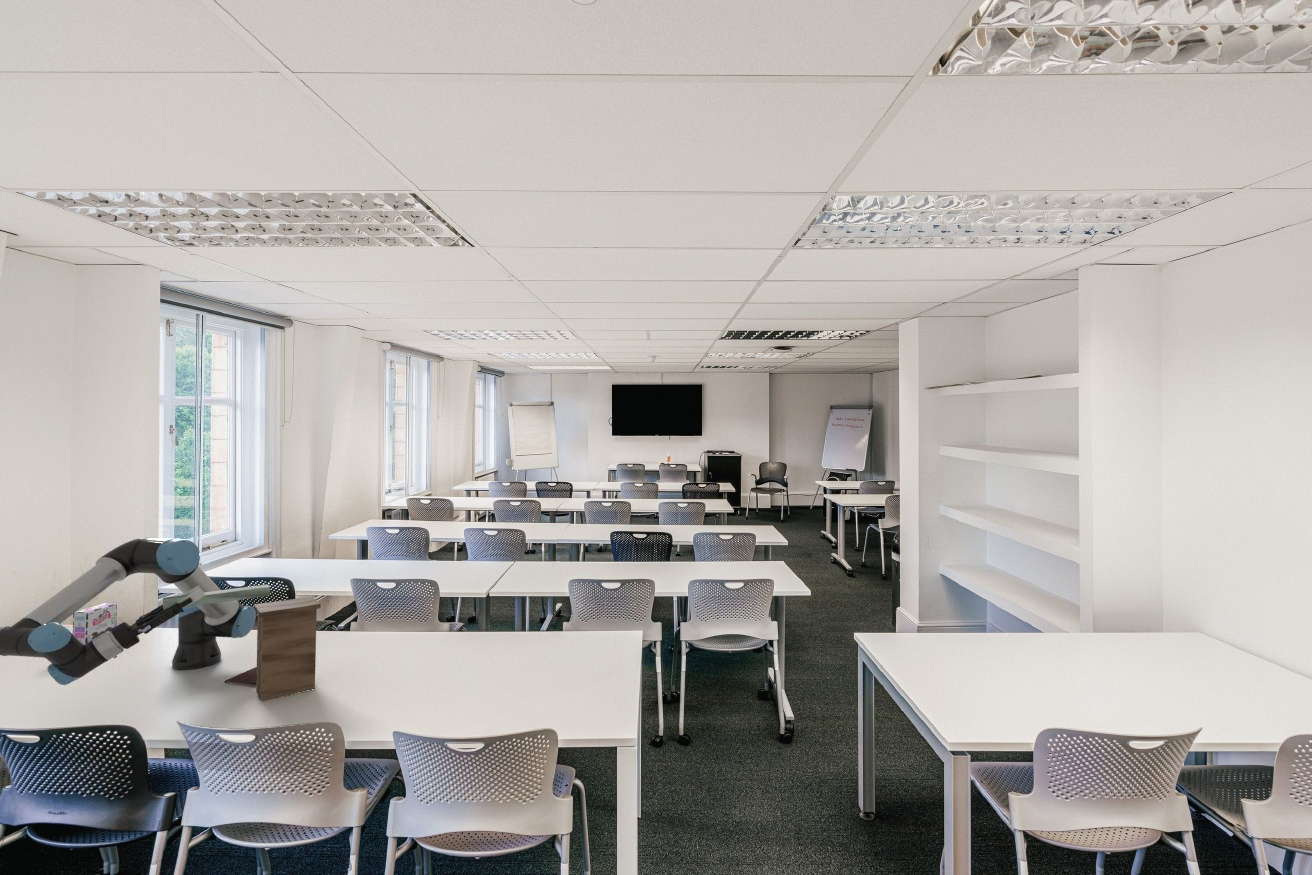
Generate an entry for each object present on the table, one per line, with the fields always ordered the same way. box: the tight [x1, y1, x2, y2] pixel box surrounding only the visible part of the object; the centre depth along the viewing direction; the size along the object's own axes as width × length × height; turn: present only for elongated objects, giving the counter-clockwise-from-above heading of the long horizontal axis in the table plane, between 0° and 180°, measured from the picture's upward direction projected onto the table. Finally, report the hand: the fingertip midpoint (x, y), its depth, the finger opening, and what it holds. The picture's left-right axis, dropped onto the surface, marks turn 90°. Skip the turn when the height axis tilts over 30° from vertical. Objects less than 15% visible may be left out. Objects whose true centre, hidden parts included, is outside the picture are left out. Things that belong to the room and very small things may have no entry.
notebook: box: [224, 666, 257, 688], centre depth 227 cm, size 15×20×2 cm
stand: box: [253, 596, 322, 702], centre depth 214 cm, size 12×18×30 cm, turn 131°
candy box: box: [72, 602, 118, 644], centre depth 250 cm, size 14×6×16 cm, turn 179°
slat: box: [162, 584, 271, 610], centre depth 200 cm, size 4×28×3 cm, turn 131°
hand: (201, 590), depth 197 cm, fingers closed on slat, 4 cm apart
